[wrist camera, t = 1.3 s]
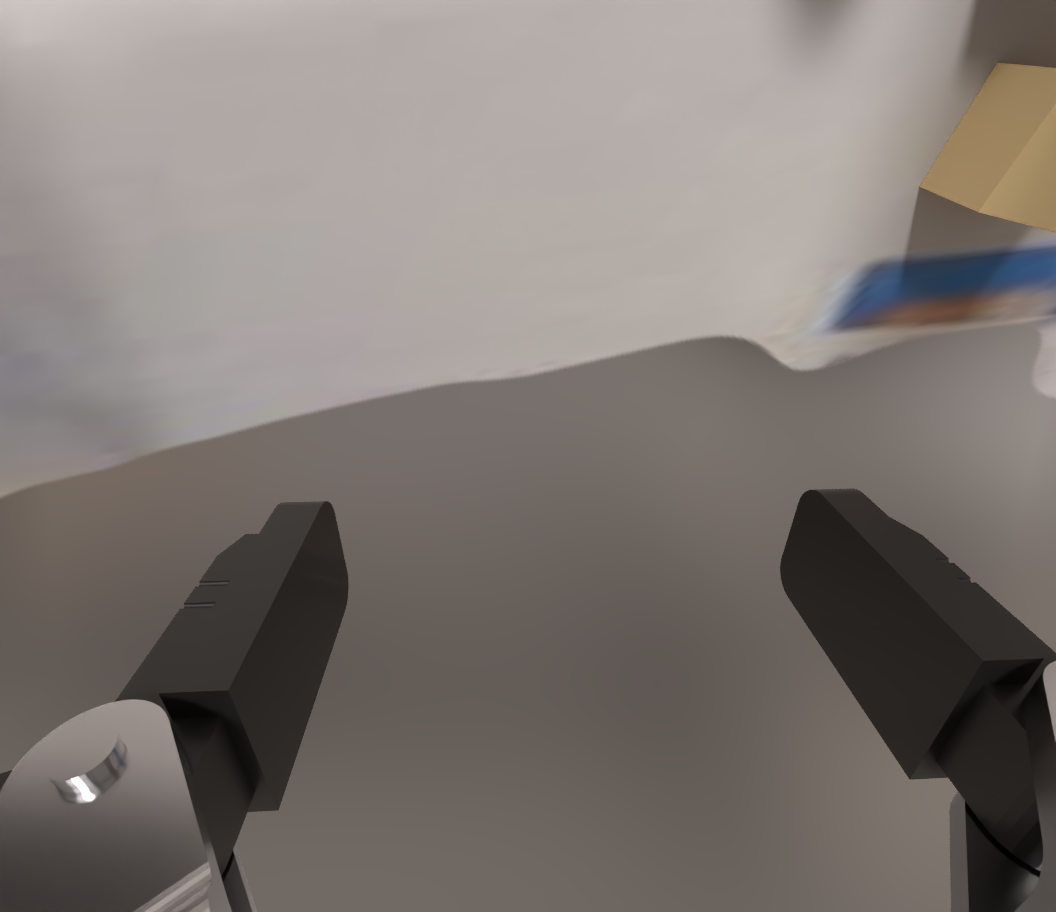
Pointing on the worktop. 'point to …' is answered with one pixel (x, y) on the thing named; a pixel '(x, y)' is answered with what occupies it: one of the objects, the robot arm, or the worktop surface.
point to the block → (1004, 149)
